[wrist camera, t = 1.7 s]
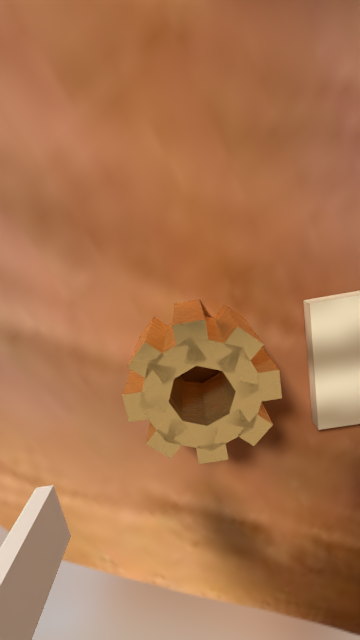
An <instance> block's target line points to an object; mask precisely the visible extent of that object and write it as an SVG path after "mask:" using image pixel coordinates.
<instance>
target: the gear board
mask: <svg viewBox="0 0 360 640" xmlns="http://www.w3.org/2000/svg"><path fill="white" fill-rule="evenodd" d="M303 301H304V314H305V327H306V341H307V354H308V367H309V381H310V394H311V407H312V421H313V423H314V424H315V426H316V427H317V428H318V430H321V429H328V428H335V427H341V426H348V425H355V424H360V291H355V292H349V293H343V294H337V295H332V296H326V297H320V298H314V299H308V300H303Z"/></svg>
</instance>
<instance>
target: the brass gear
mask: <svg viewBox="0 0 360 640" xmlns="http://www.w3.org/2000/svg"><path fill="white" fill-rule="evenodd" d="M263 345H264V344H263V343H262V341H261V340H260V339H259V337H258V336H257V335H256V334H255V332H254V331H253V330H252V328H251V327H250V326H249V325H248V323H247V322H246V321H245V319H244V318H242V317H241V316H239V315H238V314H237V313H235V312H234V311H232V310H231V309H229V308H228V307H226V306H225V305H224V306H223V307H222V308H221V310H220V311H219V312H218V314H217V315H216V316H215V318H212V317H208V316H204V313H203V310H202V306H201V303H200V300H194V301H188V302H183V303H177V304H175V305H174V313H173V322H172V323H171V324H170V325H168V326H167V325H165V324H164V323H162V322H161V321H159V320H158V319H156V318H155V317H153V319H152V320H151V322H150V323H149V325H148V326H147V328H146V329H145V330H144V332H143V333H142V335H141V336H140V338H139V341H138V343H137V345H136V348H135V350H134V352H133V355H132V357H131V359H130V362H129V364H128V366H127V367H128V368H130V369H131V373H130V376H129V378H128V381H127V383H126V386H125V389H124V391H123V394H122V397H123V401H124V405H125V409H126V413H127V416H128V420H129V422H133V421H139V420H146V419H149V421H150V424H149V430H148V436H147V441H146V444H147V445H149V446H150V447H152V448H154V449H155V450H157V451H159V452H161V453H162V454H164V455H166V456H167V457H169V458H172V456H173V455H174V454H175V453H176V451H177V450H178V449H179V448H180V447H181V445H184V446H189V447H194V448H196V450H197V455H198V460H199V464H202V463H209V462H215V461H222V460H228V455H227V449H226V443H227V442H229V441H231V440H233V439H235V438H237V437H240V438H242V439H243V440H245V441H246V442H248V443H250V444H251V445H253V446H255V444H256V443H257V442H258V441H259V440H260V439H261V438H262V437H263V435H264V434H265V433H266V432H267V431H268V430H269V429H270V428H271V427H272V425H273V424H272V422H271V420H270V418H269V416H268V413H267V411H266V409H265V407H264V405H263V403H262V401H268V400H274V399H281V398H282V392H281V383H280V373H279V369H278V368H277V366H276V365H275V363H274V362H273V361H272V359H271V358H270V357H269V355H268V354H267V353H266V351H265V350H264V349H263V347H262V346H263ZM195 366H200V367H205V368H210V369H215V370H219V373H218V374H217V375H215V376H213V377H212V378H210V379H208V380H206V381H205V382H203V383H198V382H193V381H188V380H183V379H182V378H181V377H180V375H181V374H183V373H185V372H187V371H188V370H190V369H192V368H193V367H195Z"/></svg>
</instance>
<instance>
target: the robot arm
mask: <svg viewBox="0 0 360 640" xmlns="http://www.w3.org/2000/svg"><path fill="white" fill-rule="evenodd" d="M70 537H71V535H70V532H69V529H68V526H67V523H66V520H65V517H64V515H63V512H62V509H61V506H60V503H59V500H58V497H57V494H56V491H55V488H54V485H51V486H45V487H38V488H36V489H35V490H34V492H33V494H32V495H31V497H30V499H29V501H28V502H27V504H26V506H25V507H24V509H23V511H22V512H21V514H20V516H19V517H18V519H17V521H16V522H15V524H14V526H13V527H12V529H11V531H10V532H9V534H8V536H7V537H6V539H5V541H4V543H3V544H2V546H1V548H0V640H32V637H33V634H34V632H35V629H36V626H37V624H38V621H39V618H40V616H41V613H42V610H43V608H44V605H45V603H46V600H47V597H48V595H49V592H50V589H51V587H52V584H53V582H54V579H55V576H56V574H57V571H58V568H59V566H60V563H61V560H62V558H63V555H64V553H65V550H66V547H67V545H68V542H69V539H70Z"/></svg>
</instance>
